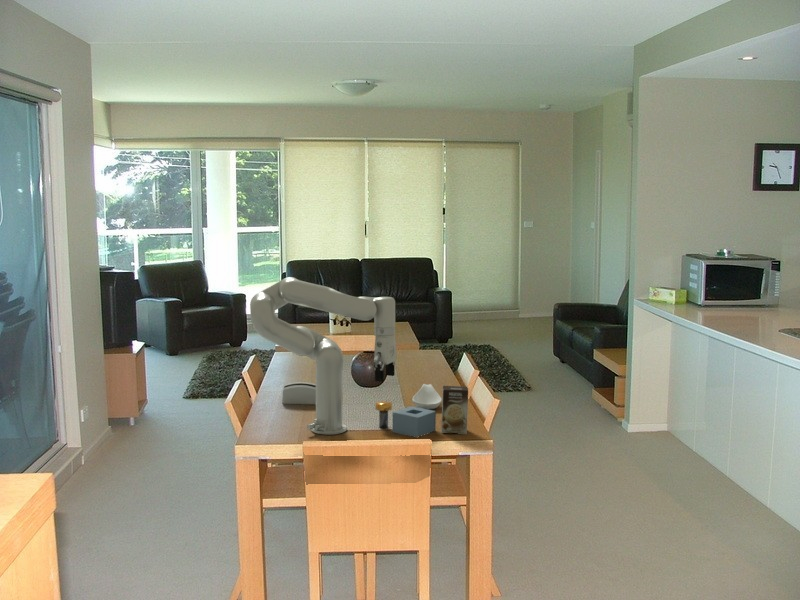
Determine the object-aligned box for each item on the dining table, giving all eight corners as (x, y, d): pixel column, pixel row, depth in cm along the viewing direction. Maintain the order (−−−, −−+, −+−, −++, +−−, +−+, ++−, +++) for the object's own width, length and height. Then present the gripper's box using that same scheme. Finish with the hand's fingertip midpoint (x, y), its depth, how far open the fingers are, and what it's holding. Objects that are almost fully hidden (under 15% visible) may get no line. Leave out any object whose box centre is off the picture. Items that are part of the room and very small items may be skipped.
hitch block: (417, 437, 269) (417, 417, 268) (392, 432, 276) (392, 412, 275) (435, 430, 278) (435, 411, 277) (410, 425, 284) (411, 406, 283)
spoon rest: (442, 412, 303) (442, 394, 302) (412, 412, 303) (412, 394, 302) (440, 397, 327) (440, 381, 326) (412, 397, 327) (412, 380, 326)
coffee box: (441, 434, 274) (442, 389, 272) (441, 428, 280) (442, 385, 278) (467, 434, 273) (468, 390, 272) (466, 429, 280) (467, 385, 278)
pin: (384, 430, 277) (385, 406, 276) (372, 427, 281) (372, 403, 279) (395, 427, 282) (395, 403, 281) (382, 424, 285) (382, 400, 284)
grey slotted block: (324, 401, 318) (323, 380, 313) (322, 407, 313) (321, 387, 309) (283, 400, 318) (282, 379, 314) (281, 406, 314) (280, 386, 309)
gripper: (384, 335, 267) (384, 384, 270) (403, 328, 283) (403, 374, 285) (365, 334, 270) (365, 382, 272) (384, 327, 286) (384, 372, 288)
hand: (384, 378), depth 279 cm, fingers open, 9 cm apart
